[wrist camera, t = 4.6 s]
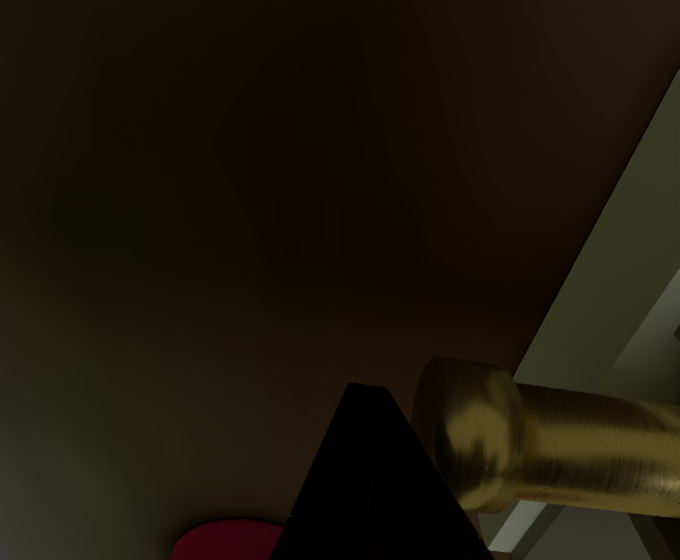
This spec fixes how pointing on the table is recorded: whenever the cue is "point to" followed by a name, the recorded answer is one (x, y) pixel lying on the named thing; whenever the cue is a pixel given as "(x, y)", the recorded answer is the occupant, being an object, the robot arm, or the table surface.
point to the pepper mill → (228, 541)
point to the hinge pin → (545, 442)
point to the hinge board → (612, 348)
